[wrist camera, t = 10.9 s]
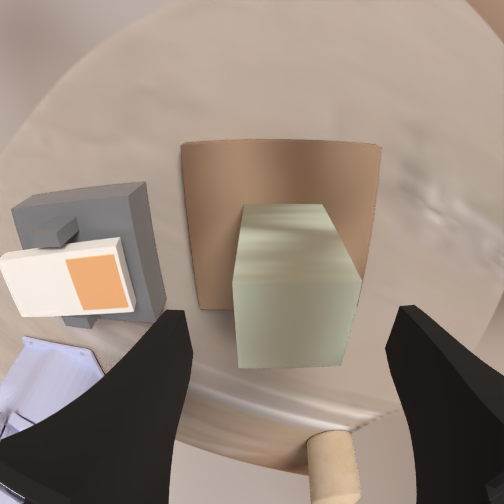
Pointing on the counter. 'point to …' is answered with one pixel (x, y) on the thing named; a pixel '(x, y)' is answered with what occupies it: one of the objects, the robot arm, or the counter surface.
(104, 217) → the switch base
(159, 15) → the counter surface
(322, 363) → the block
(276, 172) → the walnut board
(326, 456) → the candle
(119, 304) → the rocker
